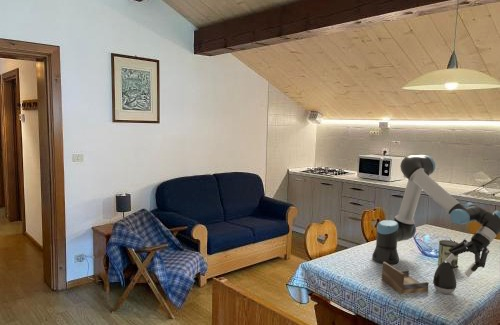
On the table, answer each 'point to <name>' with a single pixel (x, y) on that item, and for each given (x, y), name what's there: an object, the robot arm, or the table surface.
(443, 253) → the coffee can
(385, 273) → the stand
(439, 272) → the pump dispenser
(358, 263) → the table surface
